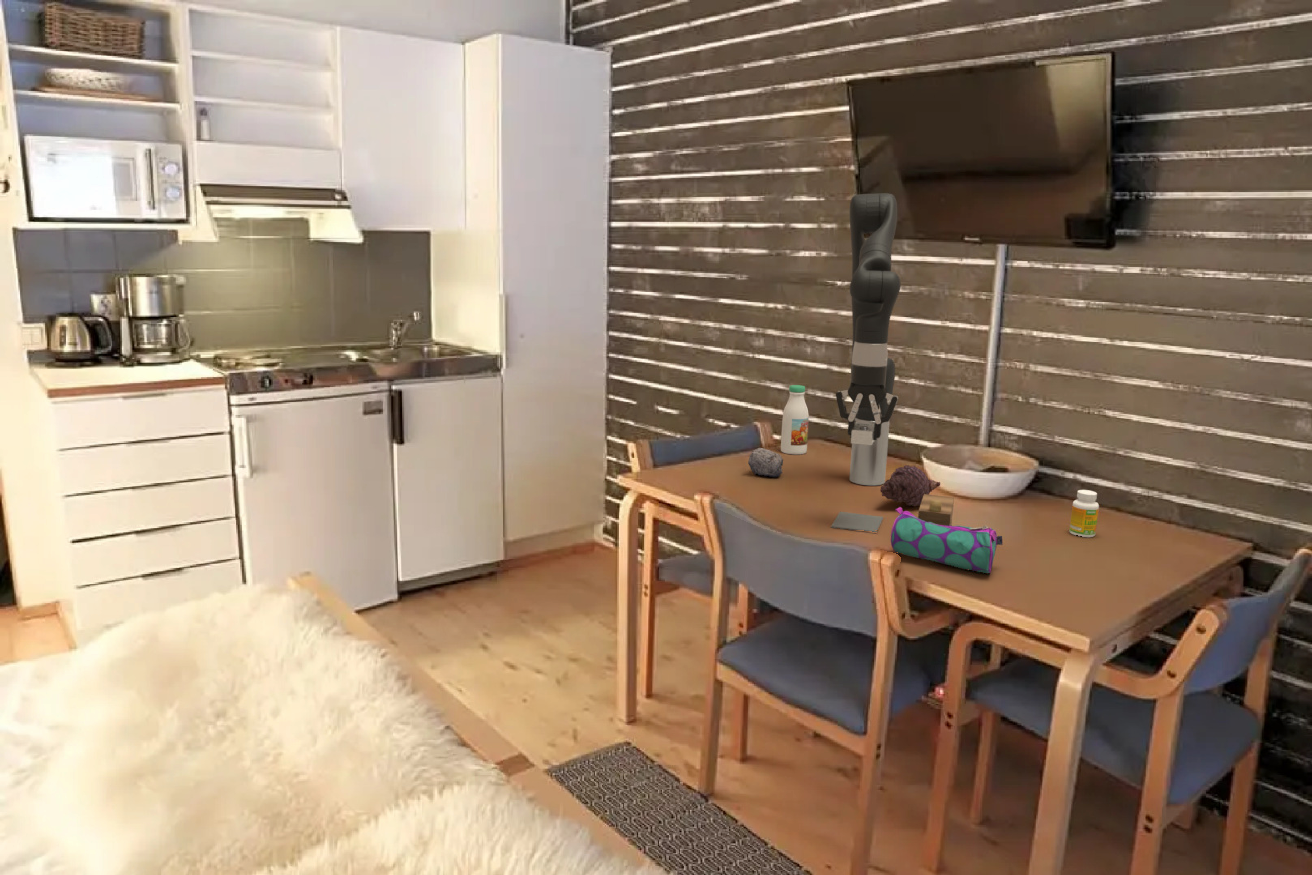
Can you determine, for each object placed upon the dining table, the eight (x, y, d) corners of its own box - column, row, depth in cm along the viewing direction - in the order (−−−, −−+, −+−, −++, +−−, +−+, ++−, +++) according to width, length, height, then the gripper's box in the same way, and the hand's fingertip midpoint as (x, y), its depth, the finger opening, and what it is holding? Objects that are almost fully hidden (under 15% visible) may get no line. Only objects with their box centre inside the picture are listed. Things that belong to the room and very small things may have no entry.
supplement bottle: (1084, 539, 210) (1089, 496, 208) (1063, 531, 215) (1068, 490, 212) (1100, 535, 212) (1106, 493, 210) (1080, 528, 217) (1085, 487, 215)
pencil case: (1000, 567, 191) (1005, 521, 189) (989, 580, 184) (994, 533, 182) (899, 547, 202) (902, 503, 200) (884, 558, 195) (888, 513, 193)
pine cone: (892, 515, 223) (895, 474, 221) (864, 504, 232) (867, 465, 230) (948, 506, 232) (951, 467, 229) (919, 496, 240) (922, 458, 238)
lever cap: (856, 436, 217) (857, 421, 217) (876, 437, 216) (877, 423, 215) (850, 443, 210) (851, 428, 209) (871, 445, 208) (872, 430, 208)
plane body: (920, 525, 217) (924, 485, 214) (951, 529, 214) (955, 488, 212) (914, 544, 203) (918, 501, 201) (948, 548, 201) (952, 505, 199)
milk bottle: (780, 454, 281) (783, 387, 277) (781, 448, 289) (784, 383, 284) (806, 455, 280) (810, 388, 276) (806, 449, 287) (810, 384, 283)
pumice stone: (789, 484, 257) (768, 466, 265) (796, 459, 254) (774, 442, 261) (758, 488, 252) (738, 469, 259) (765, 462, 248) (744, 444, 256)
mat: (839, 513, 224) (840, 511, 224) (883, 518, 221) (883, 516, 221) (831, 527, 213) (831, 525, 213) (876, 533, 210) (876, 531, 210)
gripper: (904, 362, 210) (898, 438, 214) (839, 358, 215) (834, 432, 219) (900, 367, 203) (894, 445, 207) (834, 362, 208) (828, 438, 212)
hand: (863, 438), depth 213 cm, fingers closed on lever cap, 4 cm apart
